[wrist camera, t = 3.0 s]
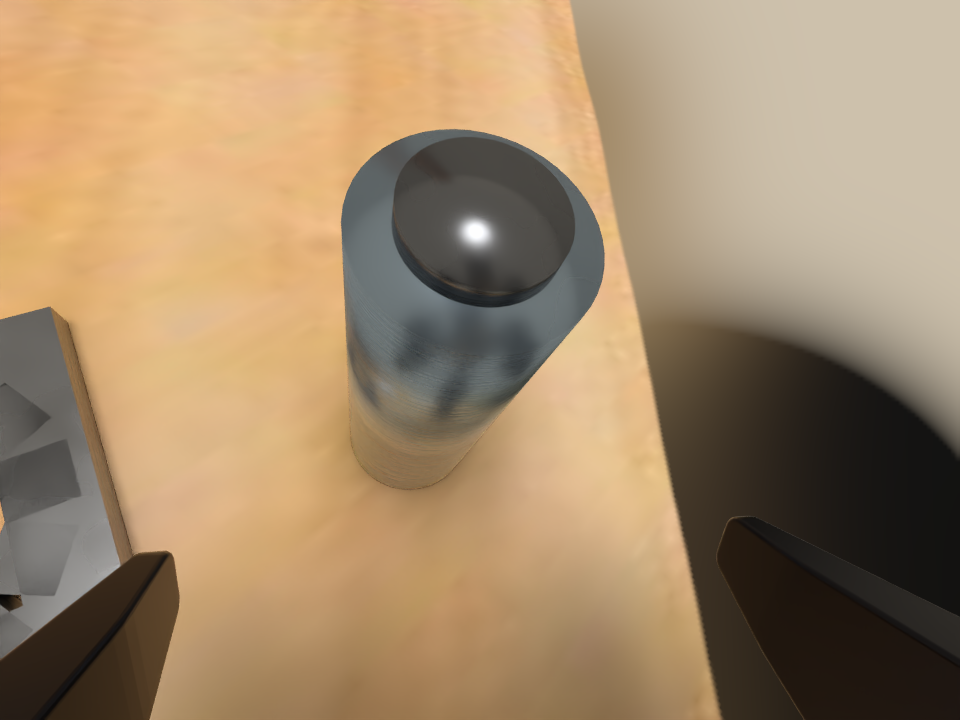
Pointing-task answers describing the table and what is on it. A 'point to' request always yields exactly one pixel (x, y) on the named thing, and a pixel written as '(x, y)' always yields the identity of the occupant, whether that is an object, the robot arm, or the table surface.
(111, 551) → the square metal washer
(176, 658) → the table surface
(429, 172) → the thermos bottle
